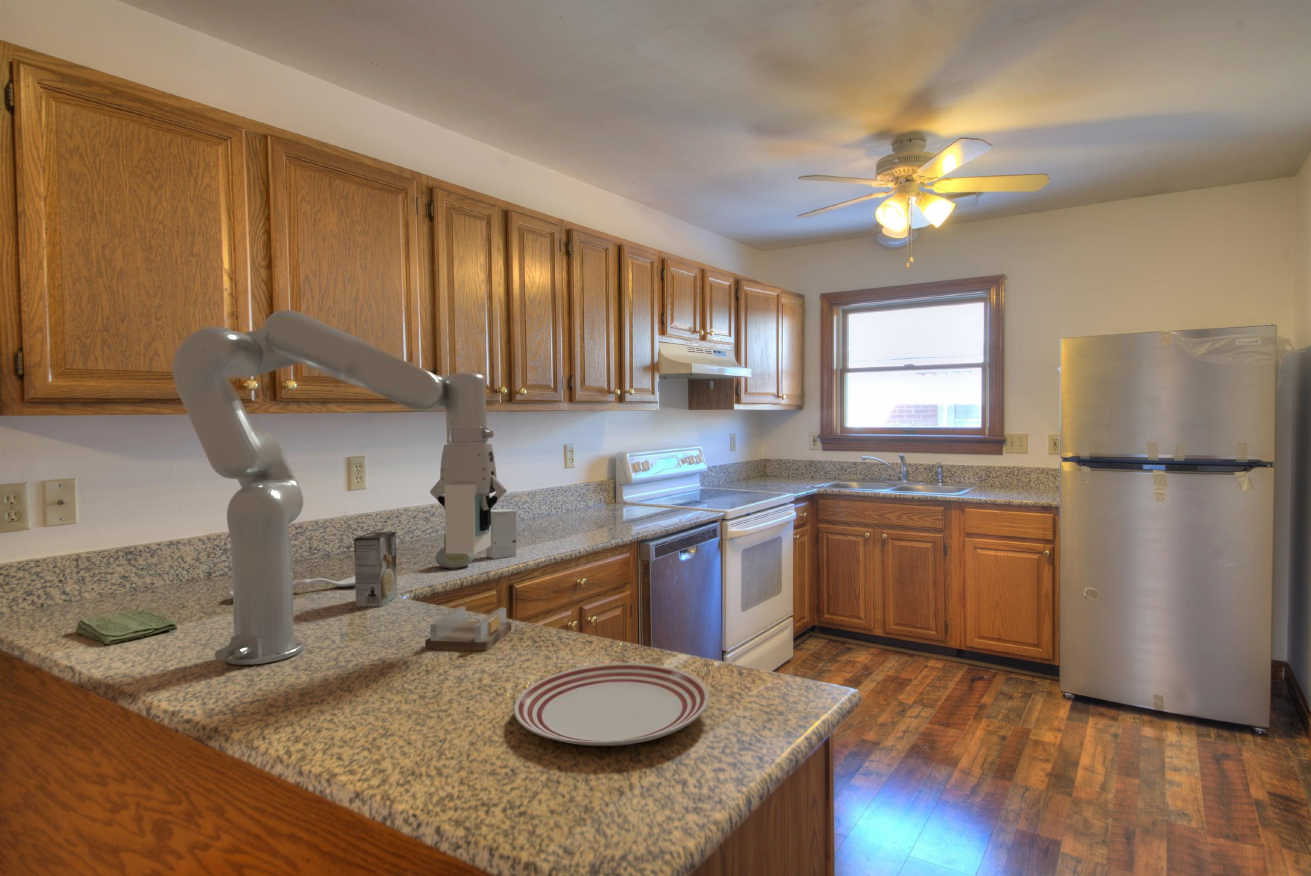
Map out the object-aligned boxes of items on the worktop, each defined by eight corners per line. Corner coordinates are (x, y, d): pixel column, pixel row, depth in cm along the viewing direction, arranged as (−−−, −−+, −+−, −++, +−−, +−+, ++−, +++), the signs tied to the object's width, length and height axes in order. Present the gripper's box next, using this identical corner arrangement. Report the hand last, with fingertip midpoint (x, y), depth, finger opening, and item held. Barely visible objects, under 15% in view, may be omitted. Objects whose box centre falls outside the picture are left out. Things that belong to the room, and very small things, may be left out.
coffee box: (371, 597, 169) (370, 531, 169) (397, 596, 169) (396, 531, 169) (354, 607, 160) (353, 537, 160) (382, 606, 160) (380, 537, 160)
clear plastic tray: (482, 642, 128) (482, 626, 128) (430, 640, 129) (430, 624, 129) (507, 622, 141) (507, 607, 141) (460, 620, 142) (459, 606, 142)
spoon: (374, 588, 180) (374, 574, 180) (229, 606, 163) (229, 592, 163) (367, 581, 188) (367, 569, 188) (228, 598, 170) (228, 584, 170)
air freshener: (436, 571, 199) (435, 536, 199) (434, 565, 207) (434, 532, 207) (475, 567, 203) (474, 533, 203) (472, 562, 211) (471, 530, 211)
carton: (491, 545, 139) (490, 481, 139) (474, 553, 130) (473, 484, 130) (464, 545, 140) (463, 481, 139) (446, 553, 131) (444, 484, 131)
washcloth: (106, 649, 133) (105, 632, 132) (71, 635, 142) (71, 619, 142) (182, 632, 143) (182, 616, 143) (146, 619, 153) (145, 605, 153)
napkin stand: (486, 650, 128) (486, 642, 128) (425, 648, 130) (425, 640, 130) (511, 629, 141) (511, 622, 141) (455, 627, 142) (455, 620, 142)
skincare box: (492, 559, 216) (492, 511, 216) (485, 556, 221) (484, 509, 221) (517, 556, 221) (517, 509, 221) (510, 553, 226) (509, 507, 226)
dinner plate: (541, 783, 80) (541, 755, 80) (497, 699, 106) (496, 677, 106) (746, 738, 91) (746, 713, 91) (661, 671, 117) (661, 652, 116)
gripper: (516, 436, 137) (518, 527, 137) (433, 437, 139) (436, 527, 140) (502, 436, 130) (504, 533, 130) (415, 438, 132) (418, 532, 132)
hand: (469, 529), depth 135 cm, fingers closed on carton, 5 cm apart
